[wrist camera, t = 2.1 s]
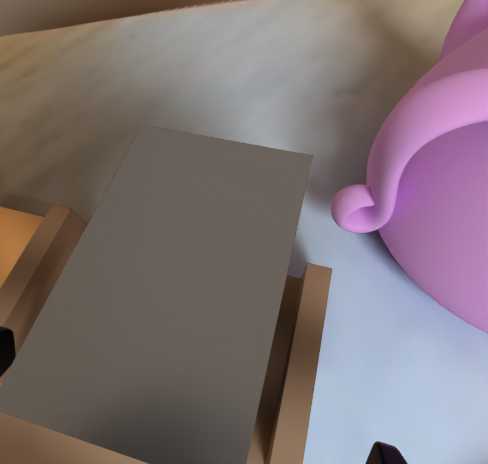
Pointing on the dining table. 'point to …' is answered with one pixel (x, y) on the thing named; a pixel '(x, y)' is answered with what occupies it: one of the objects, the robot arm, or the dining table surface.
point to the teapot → (435, 175)
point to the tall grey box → (167, 303)
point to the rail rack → (103, 460)
